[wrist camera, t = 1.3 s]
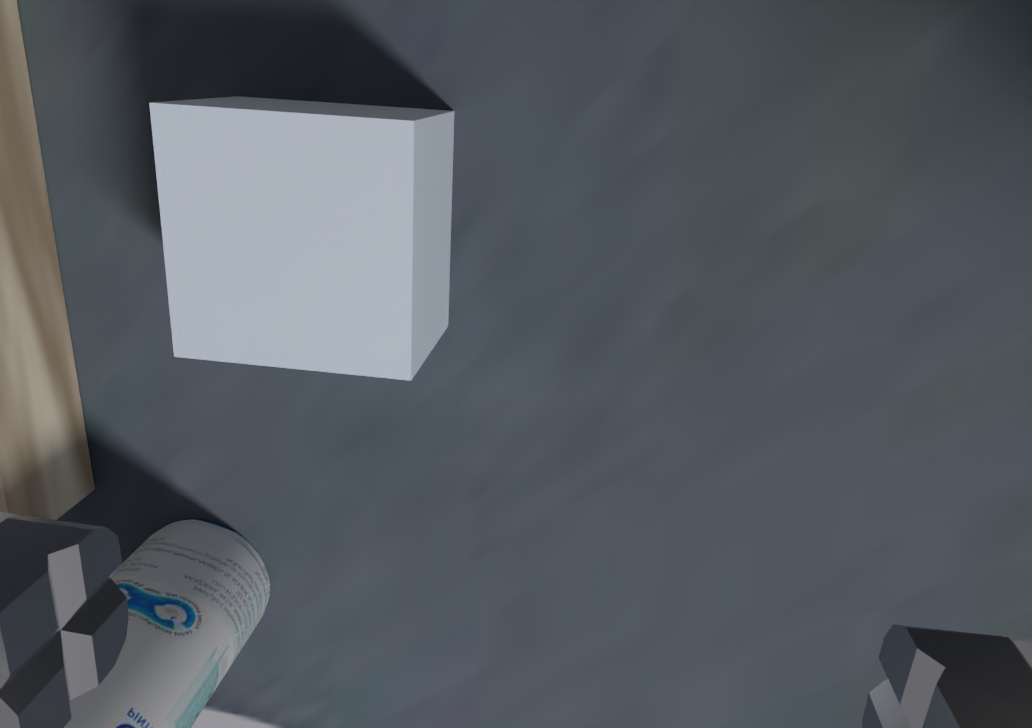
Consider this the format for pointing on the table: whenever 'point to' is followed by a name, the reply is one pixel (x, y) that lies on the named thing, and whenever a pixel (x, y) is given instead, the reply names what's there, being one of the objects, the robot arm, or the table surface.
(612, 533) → the table surface
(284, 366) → the block
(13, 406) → the board
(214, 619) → the spray paint can
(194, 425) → the table surface
